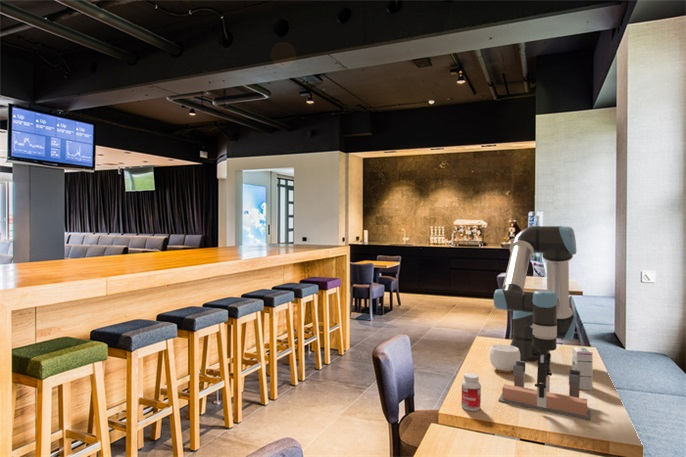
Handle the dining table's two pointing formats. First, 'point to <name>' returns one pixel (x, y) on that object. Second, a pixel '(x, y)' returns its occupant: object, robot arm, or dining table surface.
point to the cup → (504, 357)
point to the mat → (547, 409)
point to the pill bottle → (471, 392)
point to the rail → (552, 399)
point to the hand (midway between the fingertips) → (543, 400)
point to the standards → (573, 378)
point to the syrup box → (583, 366)
